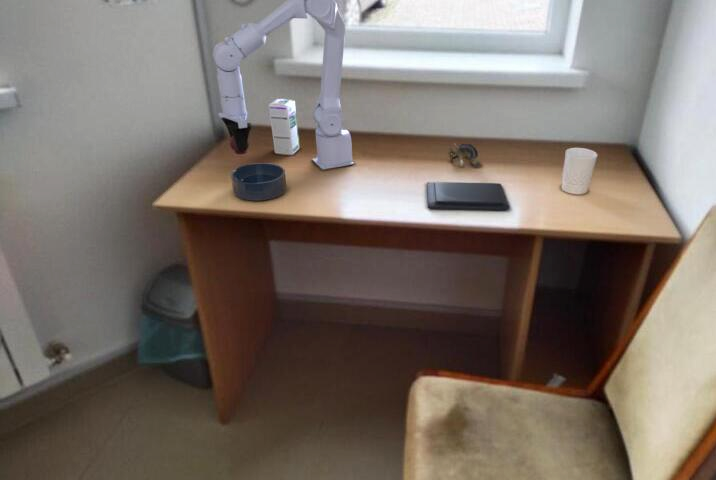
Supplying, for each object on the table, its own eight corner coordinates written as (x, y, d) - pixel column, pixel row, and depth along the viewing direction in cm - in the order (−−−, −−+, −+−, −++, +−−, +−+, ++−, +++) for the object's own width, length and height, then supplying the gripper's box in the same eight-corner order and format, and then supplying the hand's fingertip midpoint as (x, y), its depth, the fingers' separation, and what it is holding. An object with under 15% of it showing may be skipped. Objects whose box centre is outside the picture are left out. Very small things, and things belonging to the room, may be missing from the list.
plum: (247, 148, 150) (244, 127, 147) (252, 153, 147) (249, 133, 144) (229, 150, 148) (226, 130, 145) (234, 156, 145) (230, 135, 142)
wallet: (427, 202, 134) (427, 177, 147) (427, 209, 135) (426, 183, 148) (510, 205, 134) (503, 179, 147) (509, 212, 135) (502, 186, 148)
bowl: (277, 177, 148) (275, 159, 146) (293, 196, 139) (292, 177, 136) (228, 186, 143) (225, 168, 140) (241, 206, 134) (238, 187, 131)
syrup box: (292, 155, 162) (288, 105, 154) (273, 153, 163) (268, 103, 155) (300, 148, 167) (295, 99, 159) (281, 147, 167) (276, 98, 159)
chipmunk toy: (446, 165, 156) (477, 163, 153) (446, 139, 156) (478, 137, 153) (452, 170, 163) (482, 169, 161) (452, 146, 163) (483, 144, 161)
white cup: (572, 197, 143) (580, 160, 137) (552, 186, 149) (559, 150, 143) (595, 192, 146) (604, 156, 141) (575, 181, 152) (582, 145, 146)
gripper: (209, 89, 143) (218, 140, 150) (222, 104, 132) (231, 158, 140) (236, 86, 146) (244, 136, 153) (252, 100, 135) (259, 154, 143)
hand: (240, 147), depth 147 cm, fingers closed on plum, 4 cm apart
